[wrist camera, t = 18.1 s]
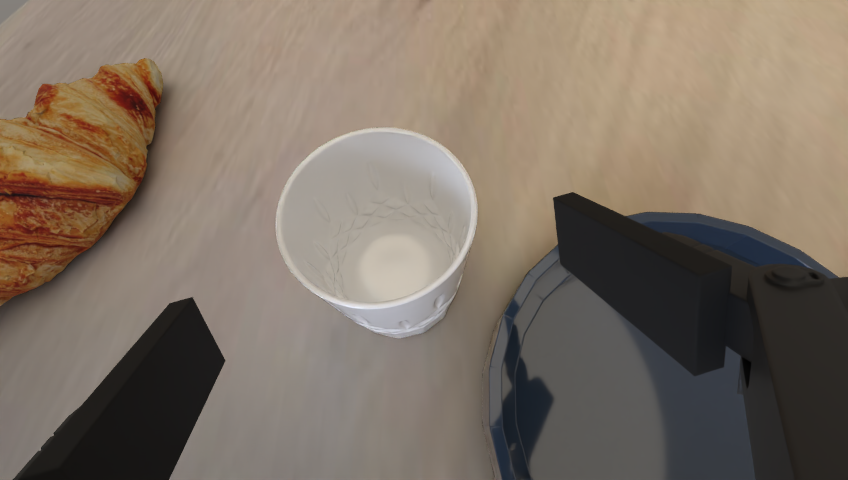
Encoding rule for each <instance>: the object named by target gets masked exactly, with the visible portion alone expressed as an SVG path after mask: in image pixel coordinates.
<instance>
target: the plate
mask: <svg viewBox="0 0 848 480" xmlns="http://www.w3.org/2000/svg"><path fill="white" fill-rule="evenodd" d="M625 217H628V218H630V219H632V220H634V221H636V222H638V223H641V224H643V225H645V226H647V227H649V228H651V229H654V230H656V231H658V232H660V233H663V232H669V233H673V234H678V235H683V236H687V237H689V238H691V239H693V240H696V241H698V242H700V243H701V245H702V244H705V245H707V246H709V247H712V248H713V249H714V250H719V251H721V252H723V253H725V254H728V255H730V256H732V257H735V258H737V259H739V260H741V261H744V262H746V263H748V264H751V265H753V266H755V267H758V266H763V265H767V264H789V265H798V266H802V267H806V268H810V269H814V270H816V271H818V272H820V273H822V274H824V275H826V276H827V277H828V278H829V279H830V278H839V277H838V276H836V275H835V274H833V273H832V272H831V271H829V270H828V269H826V268H825V267H824V266H822V265H821V264H819V263H818V262H817V261H815V260H814V259H812V258H811V257H810V256H808V255H807V254H805V253H804V252H802V251H801V250H799V249H797V248H795V247H793V246H790V245H788V244H786V243H784V242H782V241H780V240H778V239H775V238H773V237H771V236H769V235H767V234H765V233H763V232H760V231H758V230H756V229H754V228H752V227H749V226H746V225H742V224H738V223H734V222H730V221H726V220H722V219H718V218H714V217H710V216H706V215H702V214H696V213H666V212H644V213H639V214H634V215H629V216H625ZM740 358H741V356H740V355H739V354H737V353H736V352H734V351H733V350H731V349H730V348H728V347H727V346H726V350H725V363H724V367H723V368H720V369H717V370H714V371H710V372H707V373H704V374H701V375H698V376H694V375H692V374H691V373H690V372H689V371H688V370H686V369H685V368H684V367H683V366H682V365H680V364H679V363H678V362H677V361H676V360H674V359H673V358H672V357H671V356H670V355H668V354H667V353H666V352H665V351H664V350H663V349H661V348H660V347H659V346H658V345H657V344H655V343H654V342H653V341H652V340H651V339H649V338H648V337H647V336H646V335H645V334H643V333H642V332H641V331H640V330H639V329H637V328H636V327H635V326H634V325H633V324H631V323H630V322H629V321H628V320H627V319H625V318H624V317H623V316H622V315H621V314H619V313H618V312H617V311H616V310H615V309H613V308H612V307H611V306H610V305H609V304H608V303H606V302H605V301H604V300H603V299H602V298H600V297H599V296H598V295H597V294H596V293H594V292H593V291H592V290H591V289H590V288H588V287H587V286H586V285H585V284H584V283H582V282H581V281H580V280H579V279H578V278H576V277H575V276H574V275H573V274H572V273H570V272H569V271H568V270H567V269H566V268H564V267H563V266H562V265H561V264H560V257H559V248H558V245H557V246H556V247H555V248H554V249H552V250H551V251H550V252H549V253H548V254H547V255H546V256H545V257H544V258H543V259H542V260H541V261H540V262H538V263H537V264H536V265H535V266H534V267H533V268H532V269H531V270H530V271H529V272H528V273H527V274H526V276H525V277H524V279H523V281H522V282H521V284H520V286H519V287H518V289H517V290H516V292H515V294H514V295H513V297H512V299H511V301H510V302H509V304H508V306H507V307H506V309H505V311H504V312H503V314H502V316H501V317H500V319H499V321H498V323H497V324H496V326H495V329H494V331H493V335H492V338H491V342H490V346H489V350H488V353H487V357H486V361H485V365H484V369H483V374H482V424H483V425H482V426H483V430H484V435H485V439H486V443H487V447H488V452H489V456H490V460H491V464H492V468H493V473H494V477H495V480H756V479H755V472H754V465H753V458H752V451H751V444H750V438H749V431H748V424H747V417H746V410H745V403H744V396H743V395H741V394H737V389H738V379H739V369H740Z"/></svg>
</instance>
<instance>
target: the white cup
mask: <svg viewBox="0 0 848 480" xmlns="http://www.w3.org/2000/svg"><path fill="white" fill-rule="evenodd" d="M477 218H478V206H477V198H476V193H475V189H474V186H473V184H472V181H471V179H470V177H469V175H468V173H467V171H466V169H465V168H464V166H463V165H462V164H461V162H460V161H459V160H458V159H457V158H456V157H455V156H454V155H453V154H452V153H451V152H450V151H449V150H448V149H447V148H445V147H444V146H443V145H441V144H440V143H438V142H437V141H435V140H433V139H431V138H429V137H427V136H425V135H422V134H420V133H417V132H414V131H410V130H406V129H400V128H391V127H376V128H367V129H361V130H357V131H353V132H349V133H346V134H344V135H341V136H339V137H336V138H334V139H332V140H330V141H328V142H326V143H325V144H323V145H322V146H320V147H319V148H317V149H316V150H314V151H313V152H312V153H311V154H309V155H308V156H307V157H306V158H305V159H304V160H303V161H302V162H301V163H300V164H299V165H298V167H297V168H296V169H295V170H294V172H293V173H292V174H291V176H290V178H289V179H288V181H287V183H286V184H285V186H284V189H283V191H282V193H281V196H280V199H279V202H278V206H277V211H276V222H275V227H276V237H277V242H278V246H279V249H280V252H281V255H282V257H283V259H284V261H285V263H286V265H287V267H288V268H289V270H290V271H291V273H292V274H293V275H294V276H295V277H296V279H297V280H298V281H299V282H300V283H301V284H302V285H304V286H305V287H306V288H307V289H308V290H310V291H311V292H313V293H314V294H315V295H317V296H318V297H320V298H321V299H323V300H324V301H325V302H327V303H328V304H330V305H331V306H332V307H334V308H335V309H336V310H338V311H339V312H341V313H342V314H343V315H345V316H346V317H348V318H349V319H351V320H353V321H355V322H356V323H358V324H359V325H361V326H363V327H366V328H368V329H370V330H371V331H372V332H373V333H377V334H381V335H385V336H389V337H394V338H398V339H400V338H404V337H409V336H413V335H417V334H422V333H425V332H426V331H427V330H429V329H430V328H431V327H432V326H433V325H435V324H436V323H437V322H438V321H440V320H441V319H442V318H443V317H444V316H445V314H446V312H447V310H448V308H449V306H450V304H451V302H452V300H453V299H454V297H455V295H456V292H457V290H458V287H459V285H460V282H461V279H462V276H463V273H464V269H465V266H466V262H467V259H468V255H469V252H470V248H471V245H472V242H473V238H474V235H475V231H476V226H477Z"/></svg>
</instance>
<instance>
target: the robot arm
mask: <svg viewBox="0 0 848 480" xmlns="http://www.w3.org/2000/svg"><path fill="white" fill-rule="evenodd" d="M553 201H554V210H555V220H556V229H557V238H558V248H559V257H560V264H561V265H562V266H563V267H564V268H566V269H567V270H568V271H569V272H570V273H572V274H573V275H574V276H575V277H576V278H578V279H579V280H580V281H581V282H582V283H584V284H585V285H586V286H587V287H588V288H590V289H591V290H592V291H593V292H594V293H596V294H597V295H598V296H599V297H600V298H602V299H603V300H604V301H605V302H606V303H608V304H609V305H610V306H611V307H612V308H613V309H615V310H616V311H617V312H618V313H619V314H621V315H622V316H623V317H624V318H625V319H627V320H628V321H629V322H630V323H631V324H633V325H634V326H635V327H636V328H637V329H639V330H640V331H641V332H642V333H643V334H645V335H646V336H647V337H648V338H649V339H651V340H652V341H653V342H654V343H655V344H657V345H658V346H659V347H660V348H661V349H663V350H664V351H665V352H666V353H667V354H668V355H670V356H671V357H672V358H673V359H674V360H676V361H677V362H678V363H679V364H680V365H682V366H683V367H684V368H685V369H686V370H688V371H689V372H690V373H691V374H692V375H694V376H698V375H701V374H704V373H707V372H710V371H714V370H717V369H720V368H723V367H724V363H725V350H726V346H727V347H728V348H730V349H731V350H733V351H734V352H736V353H737V354H739V355H740V356H741V358H740V369H739V379H738V389H737V394H741V395H743V396H744V403H745V410H746V417H747V424H748V431H749V438H750V444H751V451H752V458H753V465H754V472H755V479H756V480H848V277H842V278H830V279H829V278H828V277H827V276H826V275H824V274H822V273H820V272H818V271H816V270H814V269H810V268H806V267H802V266H798V265H789V264H767V265H763V266H758V267H755V266H753V265H751V264H748V263H746V262H744V261H741V260H739V259H737V258H735V257H732V256H730V255H728V254H725V253H723V252H721V251H719V250H714V249H713V248H712V247H709V246H707V245H705V244H702V245H701V243H700V242H698V241H696V240H693V239H691V238H689V237H687V236H683V235H678V234H673V233H669V232H663V233H660V232H658V231H656V230H654V229H651V228H649V227H647V226H645V225H643V224H641V223H638V222H636V221H634V220H632V219H630V218H628V217H625V216H623V215H621V214H619V213H617V212H615V211H612V210H610V209H608V208H606V207H604V206H602V205H599V204H597V203H595V202H593V201H591V200H589V199H586V198H584V197H582V196H580V195H578V194H576V193H573V192H572V193H568V194H564V195H561V196H557V197H554V198H553ZM224 362H225V359H224V357H223V355H222V353H221V351H220V349H219V347H218V346H217V344H216V342H215V340H214V338H213V336H212V334H211V332H210V330H209V328H208V326H207V324H206V322H205V321H204V319H203V317H202V315H201V313H200V311H199V309H198V307H197V305H196V303H195V301H194V299H193V298H192V297H191V298H187V299H184V300H180V301H177V302H173V303H170V304H169V305H168V306H167V307H166V308H165V309H164V311H163V312H162V313H161V314H160V315H159V316H158V318H157V319H156V320H155V321H154V322H153V323H152V324H151V326H150V327H149V328H148V329H147V330H146V331H145V333H144V334H143V335H142V336H141V337H140V338H139V340H138V341H137V342H136V343H135V344H134V345H133V346H132V348H131V349H130V350H129V351H128V352H127V353H126V355H125V356H124V357H123V358H122V359H121V360H120V362H119V363H118V364H117V365H116V366H115V367H114V368H113V370H112V371H111V372H110V373H109V374H108V375H107V377H106V378H105V379H104V380H103V381H102V382H101V383H100V385H99V386H98V387H97V388H96V389H95V390H94V392H93V393H92V394H91V395H90V396H89V397H88V399H87V400H86V401H85V402H84V403H83V404H82V405H81V406H80V407H79V408H78V409H77V410H76V411H74V412H73V413H72V414H71V415H69V416H68V417H67V419H66V420H65V421H64V422H63V423H62V424H61V425H60V427H59V428H58V429H57V430H56V431H55V432H54V433H53V434H54V436H52V437H50V438H49V439H48V440H47V441H46V443H45V444H44V445H43V446H42V447H41V451H38V452H37V453H36V454H35V455H34V456H33V457H32V459H31V460H30V461H29V462H28V463H27V464H26V465H25V467H24V468H23V469H22V470H21V471H20V472H19V473H18V475H17V476H16V477H15V478H14V479H13V480H169V478H170V476H171V474H172V472H173V470H174V468H175V466H176V464H177V462H178V459H179V457H180V455H181V453H182V451H183V449H184V447H185V445H186V443H187V440H188V438H189V436H190V434H191V432H192V430H193V428H194V426H195V424H196V421H197V419H198V417H199V415H200V413H201V411H202V409H203V407H204V405H205V403H206V400H207V398H208V396H209V394H210V392H211V390H212V388H213V386H214V384H215V381H216V379H217V377H218V375H219V373H220V371H221V369H222V367H223V365H224Z"/></svg>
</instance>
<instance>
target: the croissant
mask: <svg viewBox="0 0 848 480" xmlns="http://www.w3.org/2000/svg"><path fill="white" fill-rule="evenodd" d="M162 90H163V79H162V75H161V72H160V70H159V69H158V67H157V65H156V64H155V62H154V61H152V60H150V59H147V58H144V59H141V60H139V61H138V62H137V63H136V64H135V63H122V64H115V65H112V66H110V65H104V66H101V67H100V69H99V71H98V73H97V74H96V75H95V76H94V77H93V78H89V79H85V78H82V79H80V80H78V81H75V82H73V83H70V84H66V83H57V84H55V85H51V84H42V86H41V87H40V88H39V90H38V93H37V96H36V100H35V104H34V108H33V110H31V112H28V114H27V116H26V118H14V119H13V120H6V119H0V306H1V305H2V304H4V303H5V302H7V301H9V300H10V299H11V298H12V297H13V296H16V295H19V294H22V293H25V292H28V291H29V290H32V289H35V288H37V287H38V286H41V285H43V284H44V283H45V282H49V281H51V280H52V279H53V278H54V277H55V276H56V275H57V274H58V273H60V272H62V271H63V270H64V269H65V267H66V266H67V264H68V263H70V262H71V261H72V260H73V259H74V258H75V257H76V256H77V255H79V254H80V253H82V252H84V251H86V250H87V249H89V248H90V247H92V246H93V245H94V244H95V243H96V242H97V241H98V240H99V239H100V238H101V237H102V236H103V234H104V233H105V231H106V230H107V229H108V228H109V226H110V225H111V223H112V221H113V220H114V218H115V217H116V216H117V215H118V214H119V213H120V211H121V210H122V209H123V208H124V207H125V205H126V204H127V203H128V202H129V201H130V200H131V199H132V197H133V195H134V193H135V192H136V189H137V187H138V186H139V185H140V184H141V182H142V179H143V177H144V174H145V171H146V167H147V163H146V158H147V152H148V150H147V149H146V146H147V145H148V144H150V143H151V142H152V139H153V134H154V130H155V120H154V118H155V107H156V106H157V105H158V104H159V103H160V102H161V95H162Z"/></svg>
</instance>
